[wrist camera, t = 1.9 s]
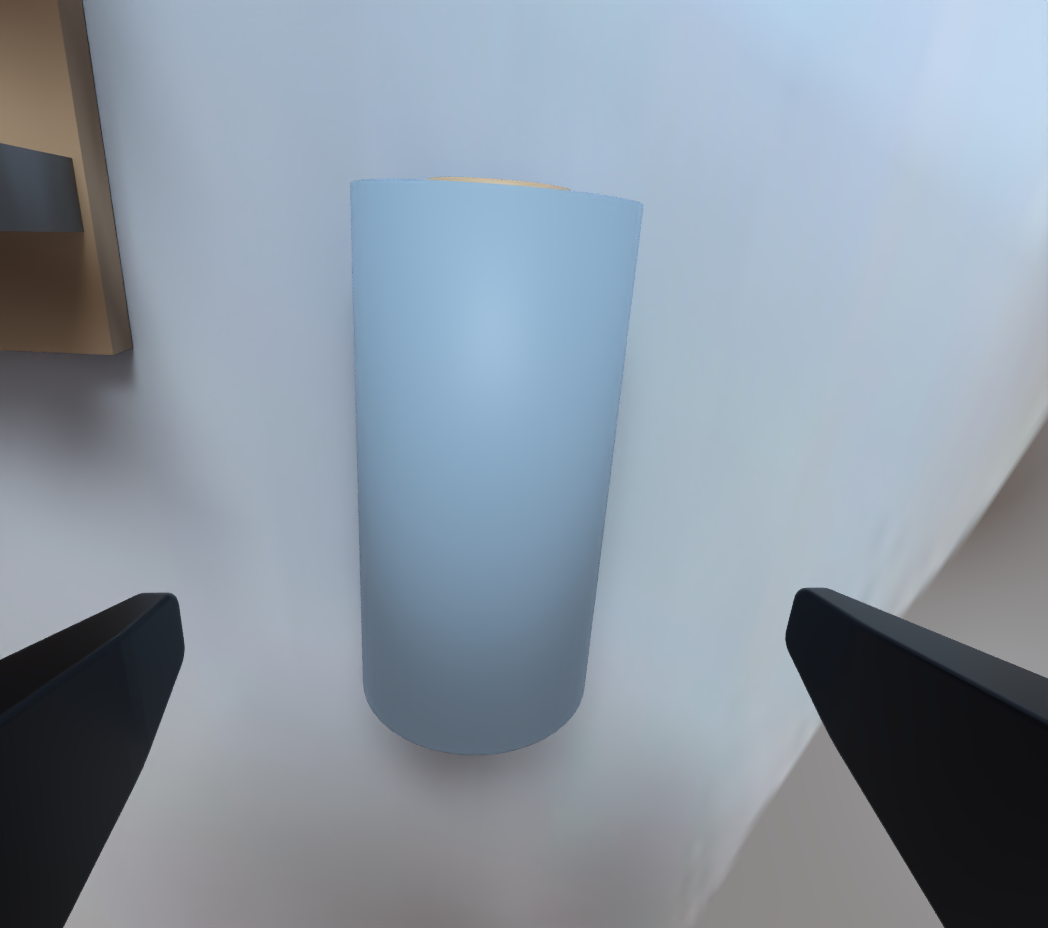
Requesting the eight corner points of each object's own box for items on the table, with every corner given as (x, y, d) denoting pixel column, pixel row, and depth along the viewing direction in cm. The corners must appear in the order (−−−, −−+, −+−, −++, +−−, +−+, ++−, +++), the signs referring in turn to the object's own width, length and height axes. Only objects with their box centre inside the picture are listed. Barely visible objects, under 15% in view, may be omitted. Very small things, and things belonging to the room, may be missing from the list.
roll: (562, 612, 20) (608, 755, 15) (375, 615, 19) (348, 767, 14) (603, 204, 16) (690, 187, 10) (367, 184, 15) (324, 155, 10)
